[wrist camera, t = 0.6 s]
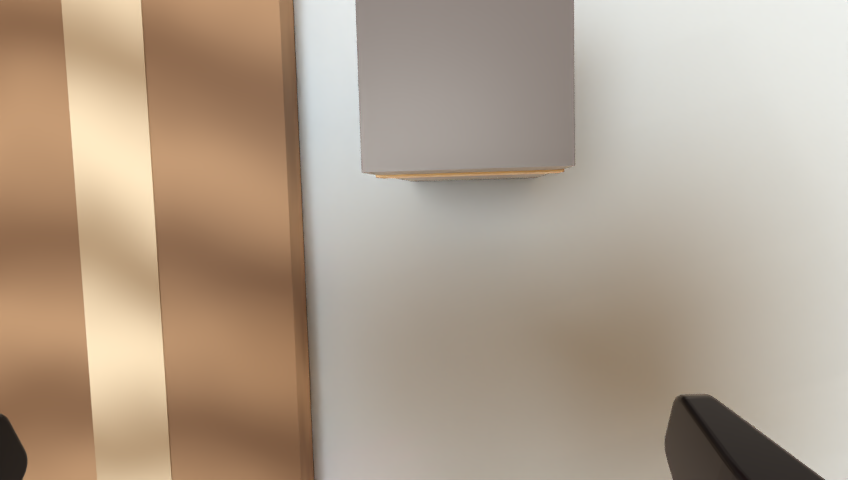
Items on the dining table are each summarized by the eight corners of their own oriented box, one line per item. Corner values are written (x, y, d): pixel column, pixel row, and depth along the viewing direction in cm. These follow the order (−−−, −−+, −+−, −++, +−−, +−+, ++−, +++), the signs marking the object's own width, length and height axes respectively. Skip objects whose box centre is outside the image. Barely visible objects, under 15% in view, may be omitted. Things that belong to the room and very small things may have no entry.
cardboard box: (315, 507, 23) (303, 530, 21) (13, 498, 24) (-19, 519, 22) (292, -13, 21) (277, -29, 20) (-30, 8, 22) (-67, -5, 21)
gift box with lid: (536, 178, 21) (577, 167, 12) (410, 182, 21) (359, 174, 12) (535, 49, 20) (575, -63, 12) (407, 56, 21) (351, -46, 12)
